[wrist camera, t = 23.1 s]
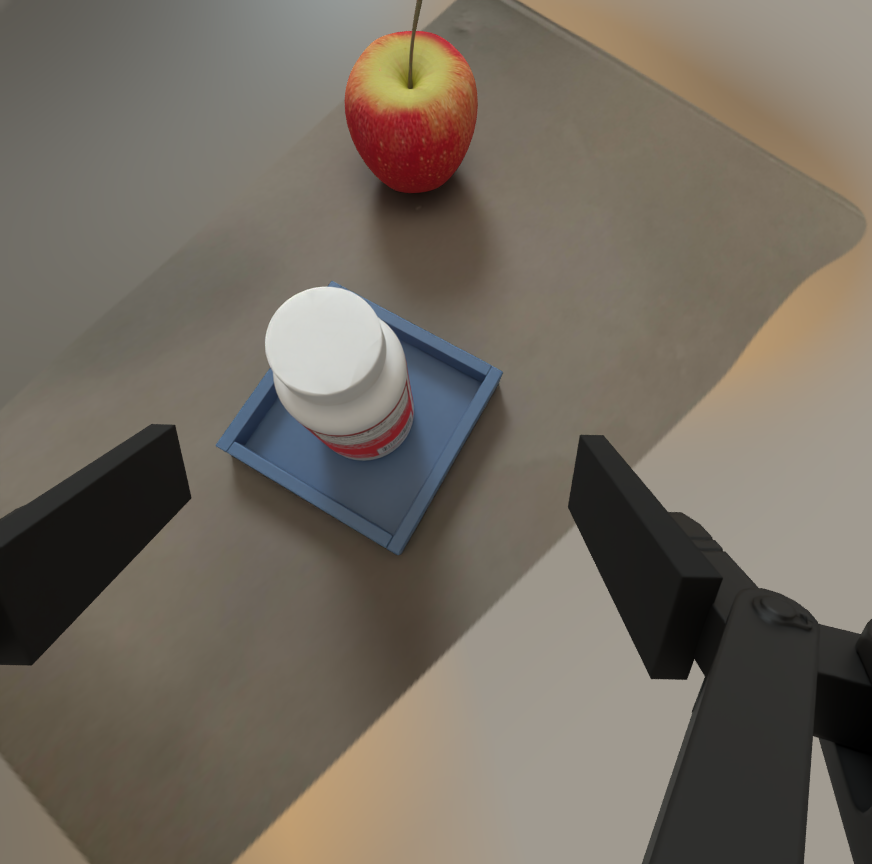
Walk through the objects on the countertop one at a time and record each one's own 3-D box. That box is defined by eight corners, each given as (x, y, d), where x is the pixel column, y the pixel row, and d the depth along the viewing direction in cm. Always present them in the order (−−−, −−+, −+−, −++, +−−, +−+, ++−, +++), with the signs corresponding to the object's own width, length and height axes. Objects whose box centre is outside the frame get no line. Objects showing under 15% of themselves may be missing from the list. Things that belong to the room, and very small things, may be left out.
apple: (488, 146, 34) (509, -13, 24) (442, 235, 32) (445, 102, 22) (389, 110, 35) (371, -57, 25) (340, 195, 33) (299, 51, 23)
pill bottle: (323, 367, 29) (256, 265, 18) (417, 370, 29) (405, 271, 18) (312, 461, 28) (233, 410, 17) (411, 465, 28) (396, 417, 17)
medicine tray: (499, 382, 29) (503, 371, 27) (400, 554, 27) (398, 555, 25) (338, 297, 31) (331, 279, 29) (230, 452, 28) (215, 445, 26)
